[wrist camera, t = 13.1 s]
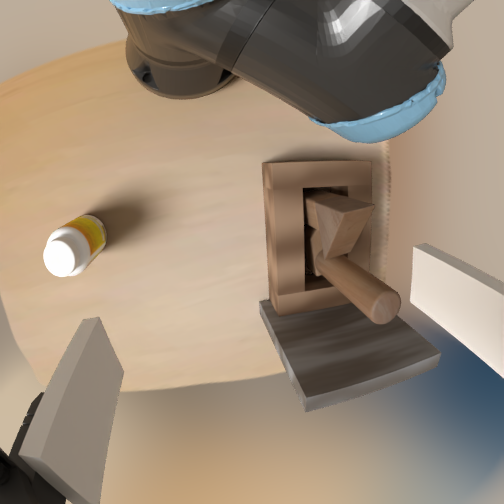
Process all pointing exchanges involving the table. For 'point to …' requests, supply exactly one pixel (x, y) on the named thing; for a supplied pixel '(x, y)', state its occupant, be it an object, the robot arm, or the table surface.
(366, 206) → the wooden block
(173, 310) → the table surface
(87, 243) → the supplement bottle
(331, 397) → the post block
